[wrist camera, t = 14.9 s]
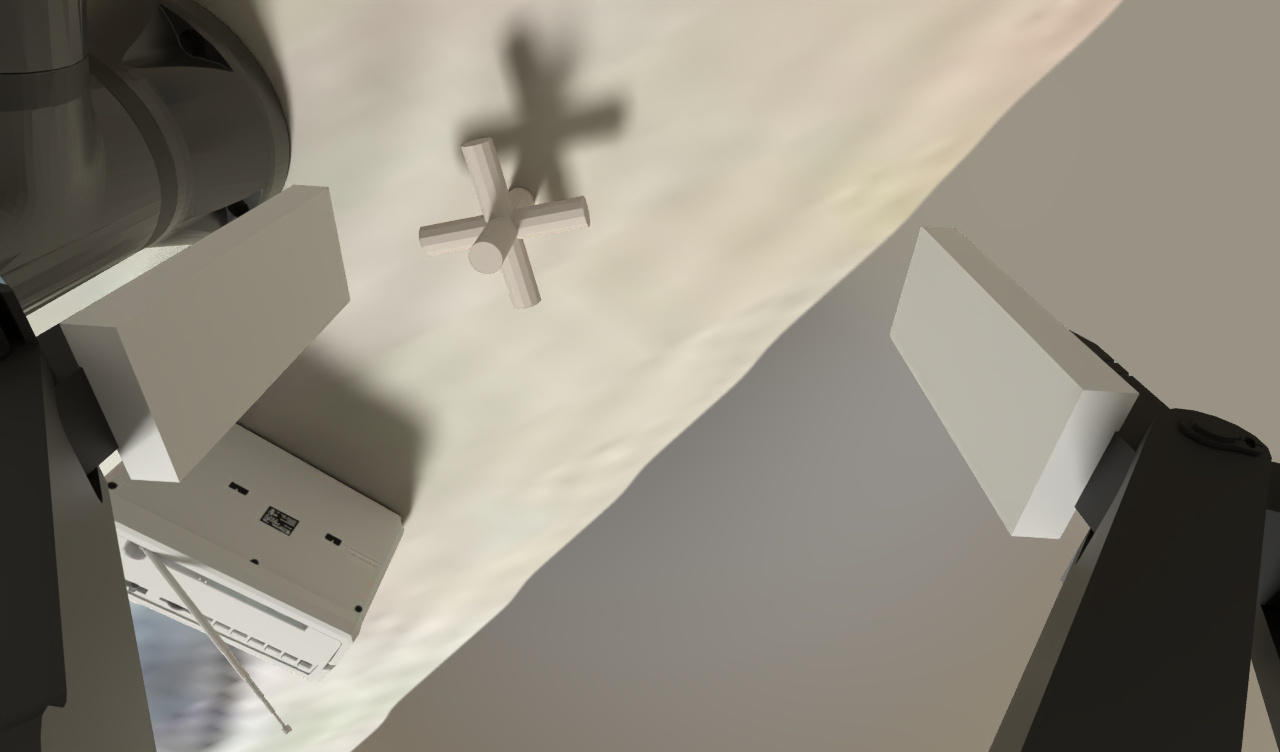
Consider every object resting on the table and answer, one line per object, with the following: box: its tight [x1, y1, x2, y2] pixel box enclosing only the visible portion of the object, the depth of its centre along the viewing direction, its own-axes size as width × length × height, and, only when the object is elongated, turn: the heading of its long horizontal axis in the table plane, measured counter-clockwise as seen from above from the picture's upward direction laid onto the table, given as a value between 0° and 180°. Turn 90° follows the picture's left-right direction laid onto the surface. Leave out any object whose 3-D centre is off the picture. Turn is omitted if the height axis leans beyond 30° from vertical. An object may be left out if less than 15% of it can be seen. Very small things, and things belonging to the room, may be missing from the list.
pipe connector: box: [419, 137, 590, 309], centre depth 39 cm, size 10×10×10 cm
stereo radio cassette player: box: [104, 423, 404, 735], centre depth 49 cm, size 21×8×20 cm, turn 49°
